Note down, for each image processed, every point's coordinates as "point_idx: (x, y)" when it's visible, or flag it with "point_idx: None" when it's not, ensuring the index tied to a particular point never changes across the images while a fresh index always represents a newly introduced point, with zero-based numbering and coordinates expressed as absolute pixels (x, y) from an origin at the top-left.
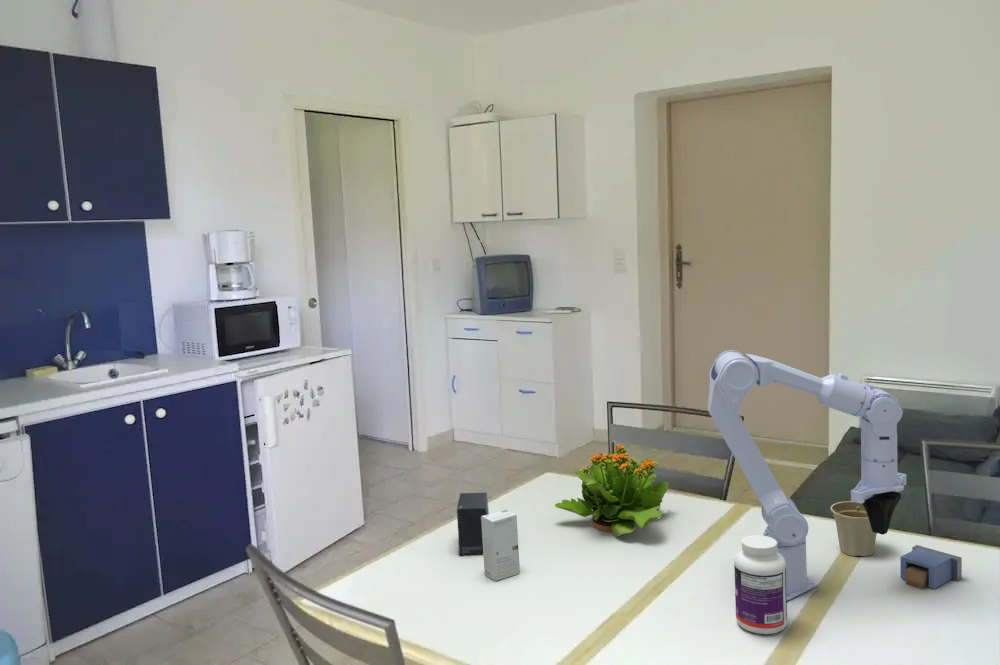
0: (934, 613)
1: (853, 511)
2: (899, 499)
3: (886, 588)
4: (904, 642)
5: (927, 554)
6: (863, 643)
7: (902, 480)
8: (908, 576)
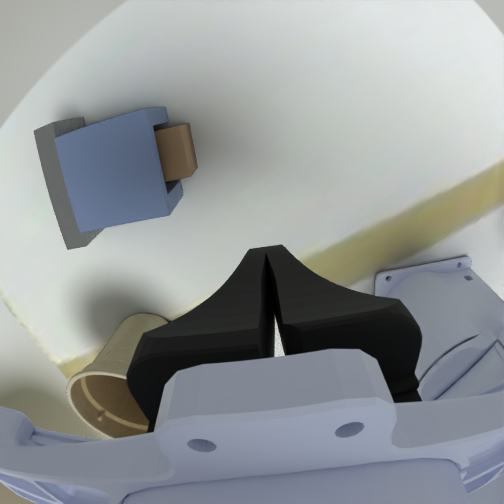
0: (286, 26)
1: (113, 415)
2: (160, 329)
3: (261, 177)
4: (446, 16)
5: (90, 185)
6: (496, 71)
7: (21, 450)
8: (192, 164)
